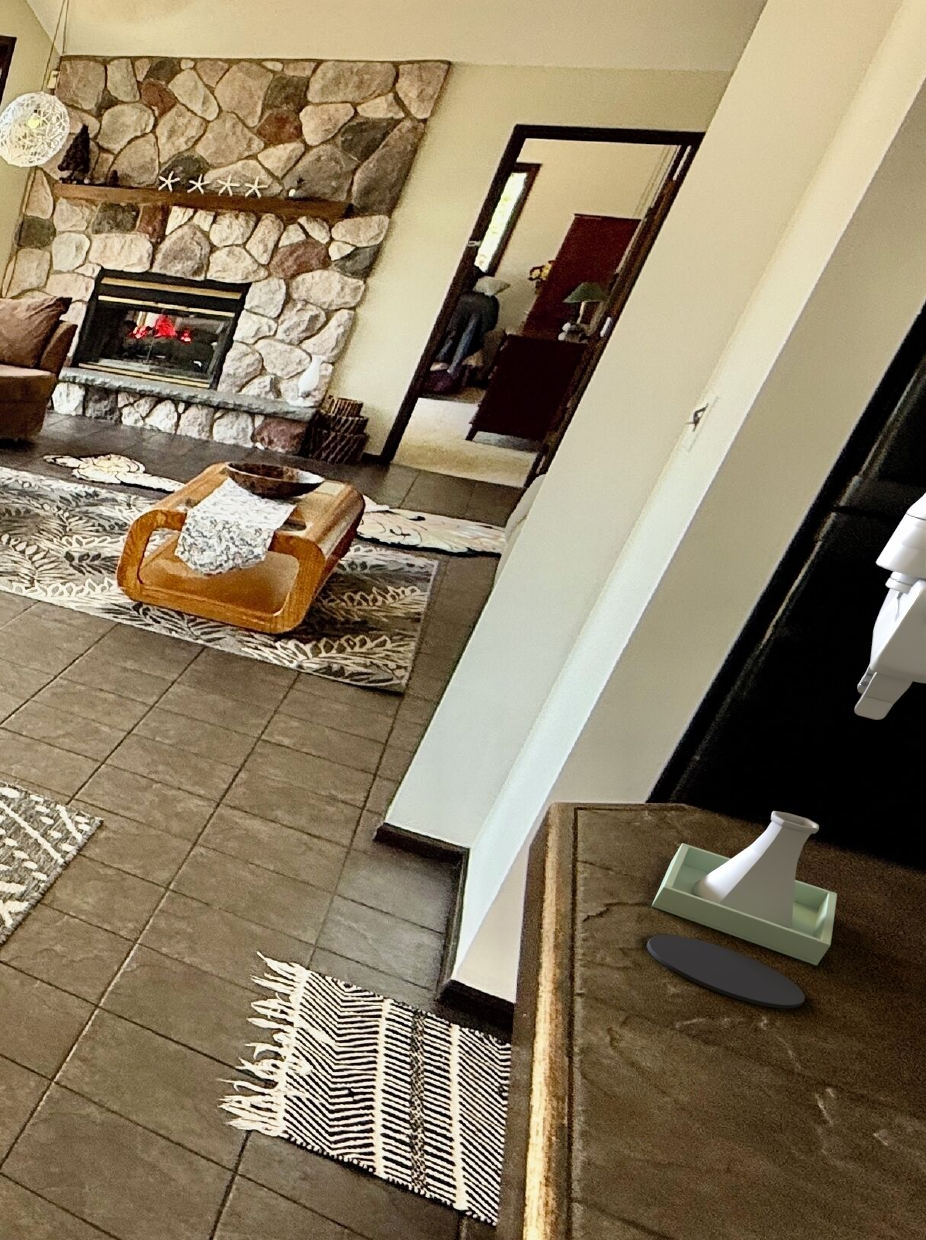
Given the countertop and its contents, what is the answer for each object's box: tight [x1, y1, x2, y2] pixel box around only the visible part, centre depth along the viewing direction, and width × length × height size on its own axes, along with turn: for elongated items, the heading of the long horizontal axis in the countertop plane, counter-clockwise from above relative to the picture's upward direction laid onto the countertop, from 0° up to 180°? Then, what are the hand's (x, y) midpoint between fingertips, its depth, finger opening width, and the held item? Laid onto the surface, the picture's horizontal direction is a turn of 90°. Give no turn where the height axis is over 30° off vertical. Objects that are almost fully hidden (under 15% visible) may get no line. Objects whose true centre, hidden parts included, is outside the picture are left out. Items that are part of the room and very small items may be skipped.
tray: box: [651, 843, 838, 966], centre depth 112 cm, size 15×11×2 cm
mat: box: [646, 934, 806, 1010], centre depth 102 cm, size 10×10×1 cm
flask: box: [693, 810, 820, 927], centre depth 110 cm, size 7×7×10 cm
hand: (867, 704), depth 103 cm, fingers open, 8 cm apart
